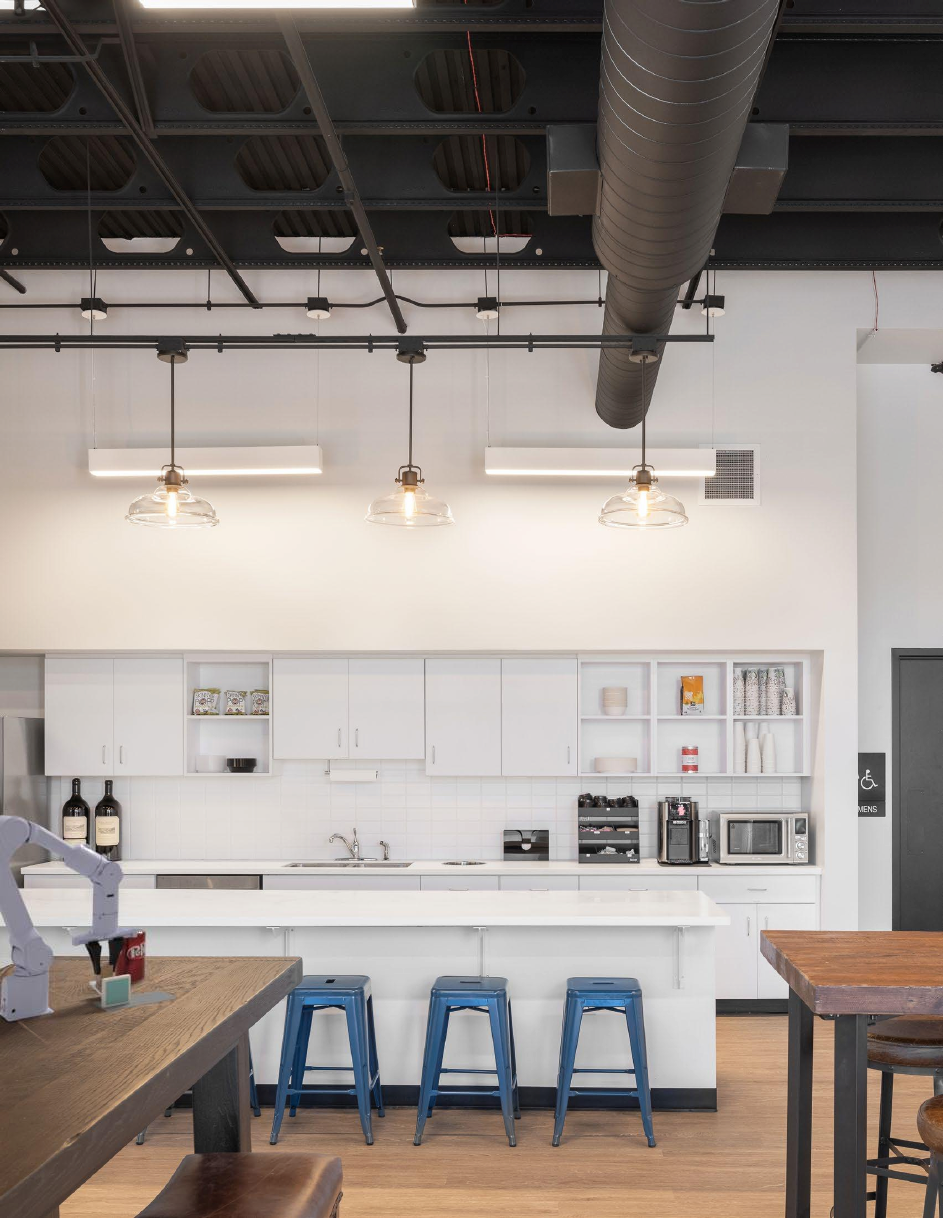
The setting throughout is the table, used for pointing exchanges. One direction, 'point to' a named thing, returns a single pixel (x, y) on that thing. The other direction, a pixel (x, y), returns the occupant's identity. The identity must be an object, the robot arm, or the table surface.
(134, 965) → the soda can
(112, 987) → the tile
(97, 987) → the trowel
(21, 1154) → the table surface
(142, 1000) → the mat
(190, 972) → the table surface
